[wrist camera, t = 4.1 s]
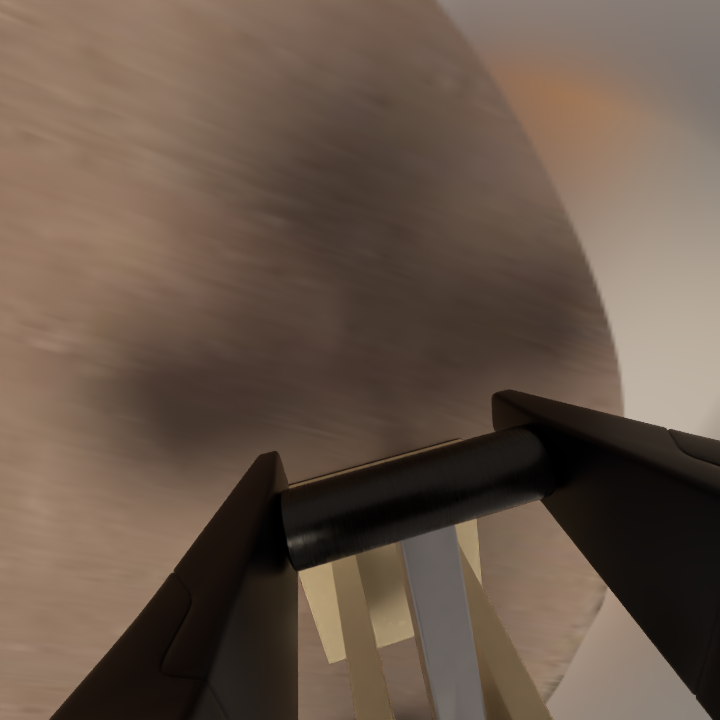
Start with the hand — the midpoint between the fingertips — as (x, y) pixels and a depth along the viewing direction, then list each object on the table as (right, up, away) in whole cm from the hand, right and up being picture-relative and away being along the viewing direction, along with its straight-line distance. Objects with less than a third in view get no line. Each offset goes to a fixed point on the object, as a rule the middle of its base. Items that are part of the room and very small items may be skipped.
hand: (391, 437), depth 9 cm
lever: (+1, -6, +1) cm, 6 cm away
